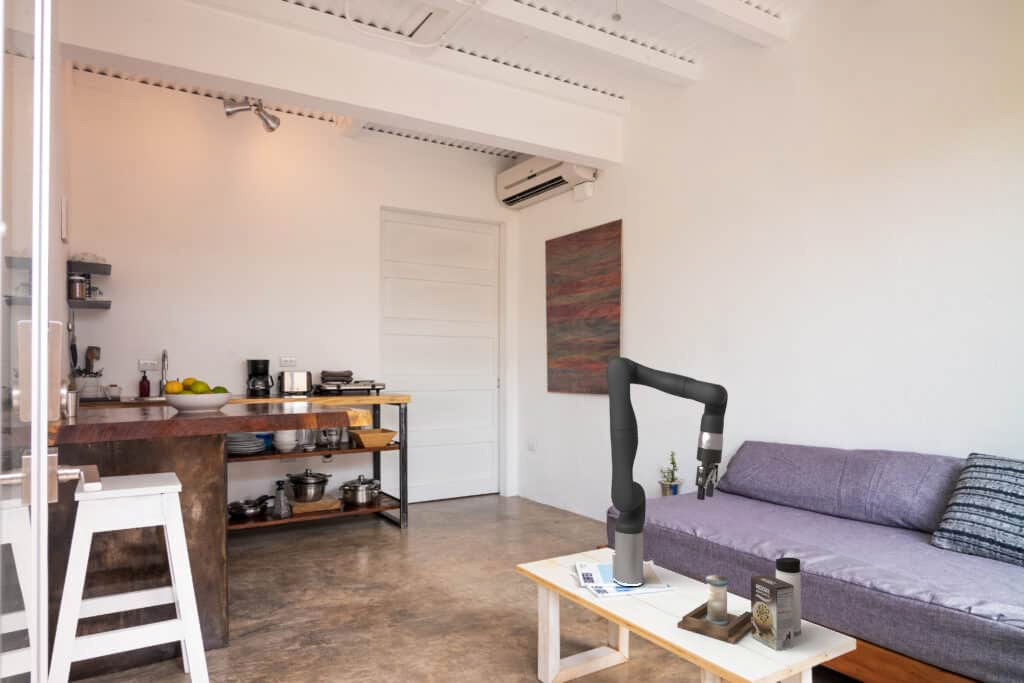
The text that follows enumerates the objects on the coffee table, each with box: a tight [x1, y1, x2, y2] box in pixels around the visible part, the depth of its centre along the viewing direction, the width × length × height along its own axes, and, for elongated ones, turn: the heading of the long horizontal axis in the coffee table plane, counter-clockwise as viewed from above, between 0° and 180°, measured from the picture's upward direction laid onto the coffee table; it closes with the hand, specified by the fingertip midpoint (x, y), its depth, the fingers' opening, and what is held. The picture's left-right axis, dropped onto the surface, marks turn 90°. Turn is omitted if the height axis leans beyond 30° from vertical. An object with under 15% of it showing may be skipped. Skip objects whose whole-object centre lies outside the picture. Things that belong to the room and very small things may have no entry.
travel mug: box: [775, 556, 802, 637], centre depth 175 cm, size 6×7×20 cm
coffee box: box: [750, 574, 795, 652], centre depth 168 cm, size 9×6×16 cm
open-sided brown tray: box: [677, 600, 751, 645], centre depth 177 cm, size 16×16×3 cm
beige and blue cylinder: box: [705, 574, 729, 626], centre depth 178 cm, size 6×6×12 cm
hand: (705, 498), depth 201 cm, fingers open, 8 cm apart
